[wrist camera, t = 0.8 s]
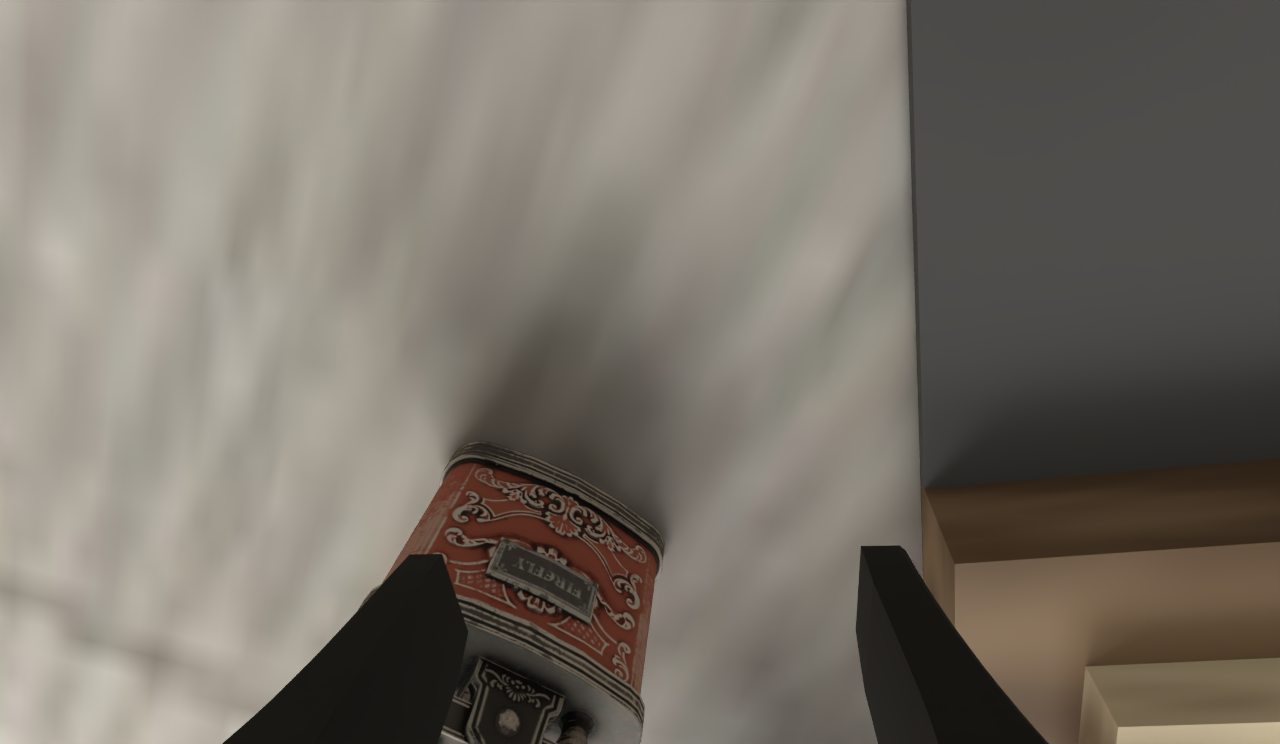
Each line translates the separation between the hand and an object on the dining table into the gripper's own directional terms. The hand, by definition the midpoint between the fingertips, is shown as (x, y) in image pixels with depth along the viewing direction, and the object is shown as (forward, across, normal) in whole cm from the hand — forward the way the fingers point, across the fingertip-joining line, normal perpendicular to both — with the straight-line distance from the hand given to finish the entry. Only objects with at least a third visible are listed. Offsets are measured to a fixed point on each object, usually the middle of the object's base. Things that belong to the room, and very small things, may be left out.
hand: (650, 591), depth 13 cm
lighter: (+10, +5, +7) cm, 13 cm away
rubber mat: (+11, -15, -1) cm, 18 cm away
